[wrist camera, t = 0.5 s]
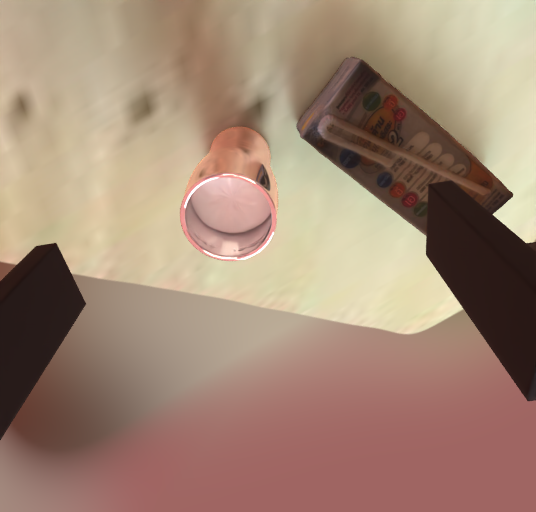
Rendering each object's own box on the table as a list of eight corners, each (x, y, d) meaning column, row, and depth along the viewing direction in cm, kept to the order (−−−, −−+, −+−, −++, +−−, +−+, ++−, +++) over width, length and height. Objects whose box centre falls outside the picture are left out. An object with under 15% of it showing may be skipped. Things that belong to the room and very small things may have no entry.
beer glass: (196, 128, 39) (162, 180, 26) (267, 114, 38) (269, 160, 25) (215, 195, 42) (192, 271, 29) (280, 183, 42) (287, 255, 29)
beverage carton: (348, 49, 36) (364, 53, 30) (487, 174, 41) (523, 198, 36) (292, 124, 39) (297, 141, 33) (429, 230, 45) (454, 260, 39)
